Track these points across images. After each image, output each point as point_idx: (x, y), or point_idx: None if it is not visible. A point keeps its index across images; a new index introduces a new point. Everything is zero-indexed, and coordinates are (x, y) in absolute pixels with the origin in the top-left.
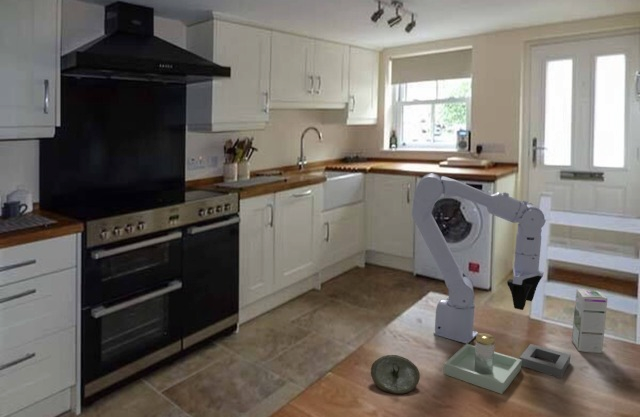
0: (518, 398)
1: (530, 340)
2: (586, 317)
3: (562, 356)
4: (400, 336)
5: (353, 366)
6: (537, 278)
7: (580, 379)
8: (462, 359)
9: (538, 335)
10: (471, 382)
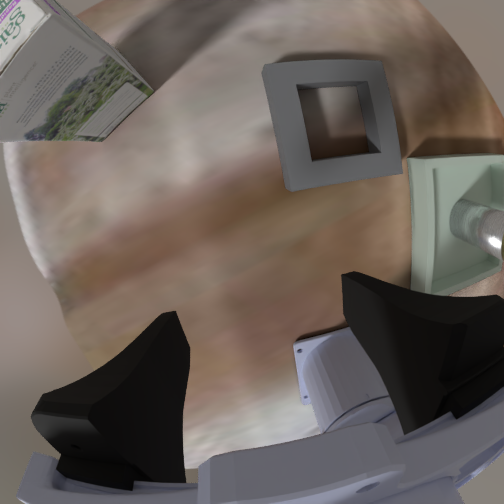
0: (484, 124)
1: (201, 228)
2: (97, 41)
3: (299, 77)
4: None
5: None
6: (115, 416)
7: (335, 29)
8: (446, 274)
9: (143, 232)
10: None
